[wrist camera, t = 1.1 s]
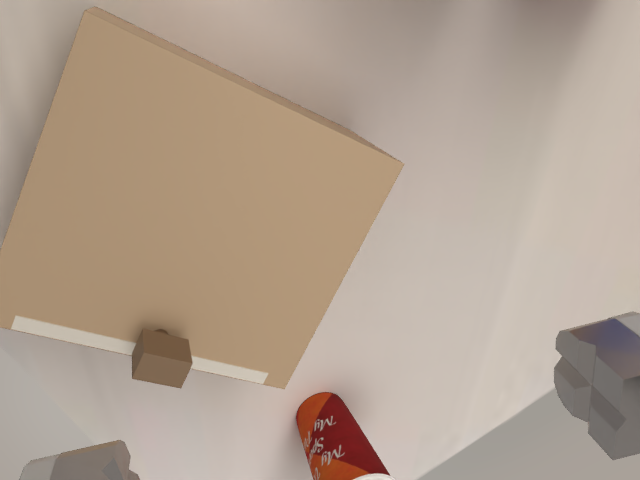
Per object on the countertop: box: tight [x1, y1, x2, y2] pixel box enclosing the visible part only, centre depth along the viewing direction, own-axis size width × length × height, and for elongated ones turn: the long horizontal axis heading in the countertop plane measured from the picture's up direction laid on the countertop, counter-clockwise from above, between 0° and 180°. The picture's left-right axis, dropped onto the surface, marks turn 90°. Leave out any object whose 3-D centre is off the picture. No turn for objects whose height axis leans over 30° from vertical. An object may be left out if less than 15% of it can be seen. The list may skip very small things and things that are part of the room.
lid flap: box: [0, 10, 404, 389], centre depth 35 cm, size 22×20×5 cm
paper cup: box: [296, 392, 396, 480], centre depth 54 cm, size 8×8×14 cm
